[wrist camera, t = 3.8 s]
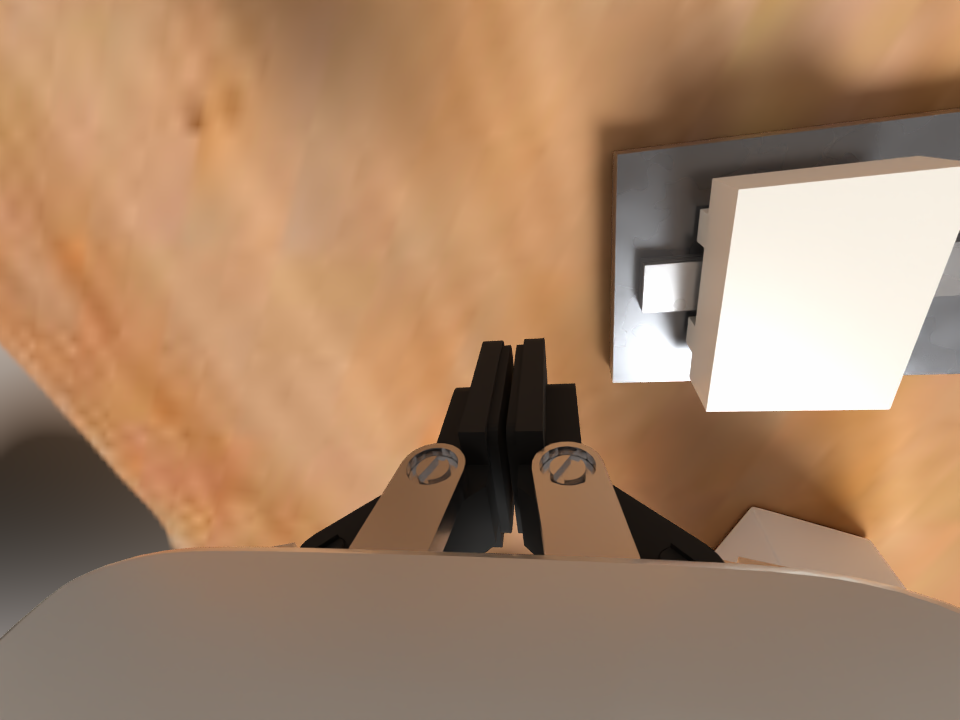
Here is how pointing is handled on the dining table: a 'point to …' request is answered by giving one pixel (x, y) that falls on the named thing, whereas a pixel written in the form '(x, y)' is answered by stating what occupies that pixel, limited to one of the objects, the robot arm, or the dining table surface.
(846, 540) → the milk carton
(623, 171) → the rail
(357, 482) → the dining table surface
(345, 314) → the dining table surface
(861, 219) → the slider
